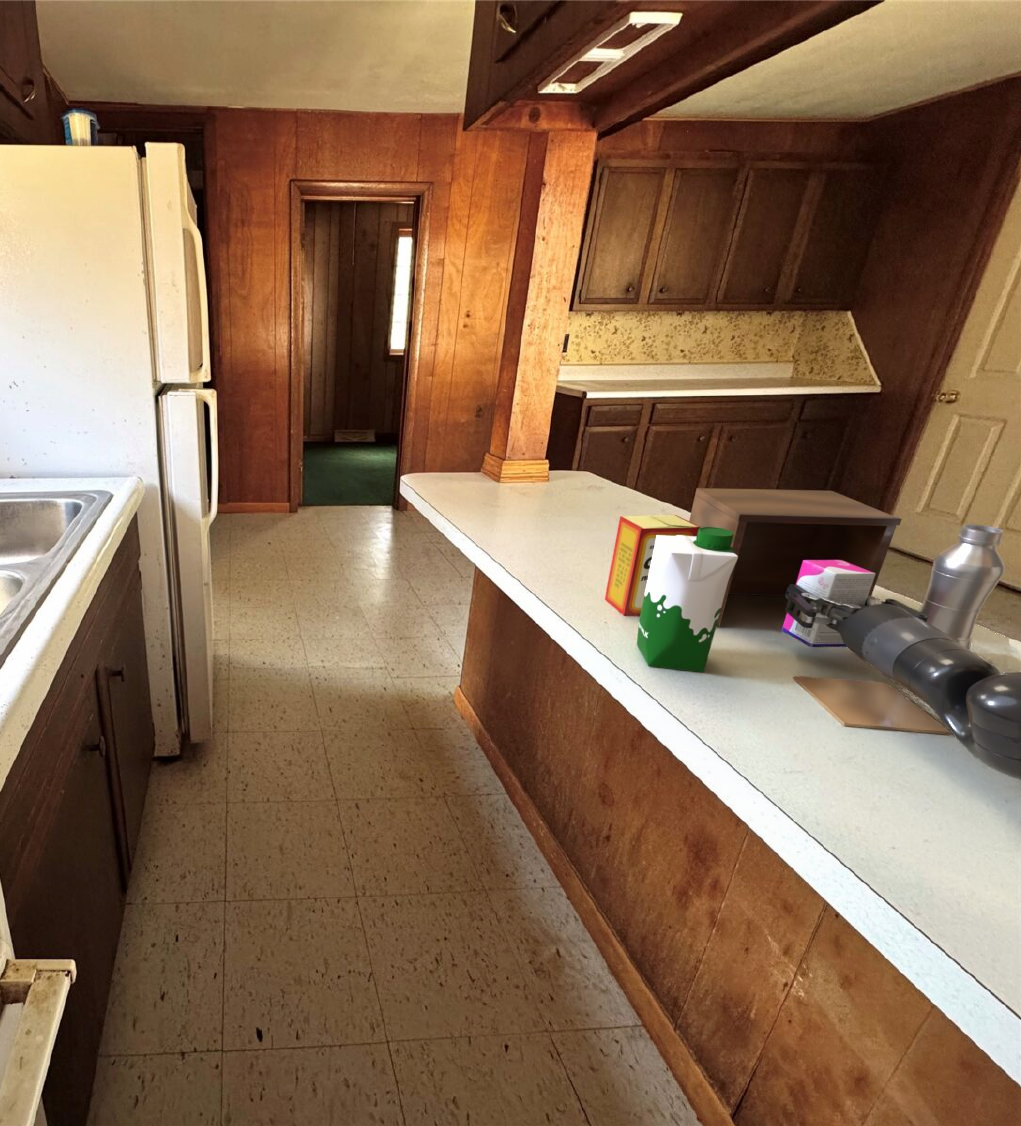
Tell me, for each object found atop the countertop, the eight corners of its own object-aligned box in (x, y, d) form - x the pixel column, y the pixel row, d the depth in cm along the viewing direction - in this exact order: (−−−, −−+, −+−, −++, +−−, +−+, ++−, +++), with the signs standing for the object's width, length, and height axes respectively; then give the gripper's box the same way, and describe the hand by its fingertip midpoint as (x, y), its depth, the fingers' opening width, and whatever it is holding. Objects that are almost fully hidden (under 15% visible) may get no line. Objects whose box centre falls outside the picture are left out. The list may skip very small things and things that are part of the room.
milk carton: (713, 676, 87) (749, 543, 80) (641, 668, 90) (669, 538, 82) (693, 646, 95) (724, 522, 87) (627, 640, 97) (652, 519, 90)
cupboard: (859, 636, 96) (902, 518, 89) (710, 627, 100) (739, 514, 93) (800, 594, 111) (833, 490, 104) (672, 588, 115) (695, 487, 108)
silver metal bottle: (897, 643, 94) (946, 517, 87) (962, 658, 89) (1019, 527, 82) (894, 659, 90) (946, 528, 82) (962, 676, 85) (1023, 540, 78)
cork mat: (885, 684, 84) (886, 682, 84) (950, 734, 74) (951, 732, 74) (792, 678, 86) (793, 675, 86) (843, 725, 76) (844, 723, 76)
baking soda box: (623, 615, 105) (641, 526, 99) (604, 599, 111) (620, 514, 105) (679, 614, 105) (701, 524, 99) (657, 598, 111) (676, 512, 105)
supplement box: (852, 647, 88) (878, 573, 84) (810, 648, 88) (833, 574, 84) (819, 628, 94) (841, 558, 89) (779, 629, 94) (800, 559, 90)
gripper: (824, 668, 78) (756, 611, 93) (960, 677, 75) (867, 617, 91) (842, 614, 76) (769, 565, 91) (983, 622, 73) (884, 570, 88)
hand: (818, 591), depth 91 cm, fingers closed on supplement box, 6 cm apart
